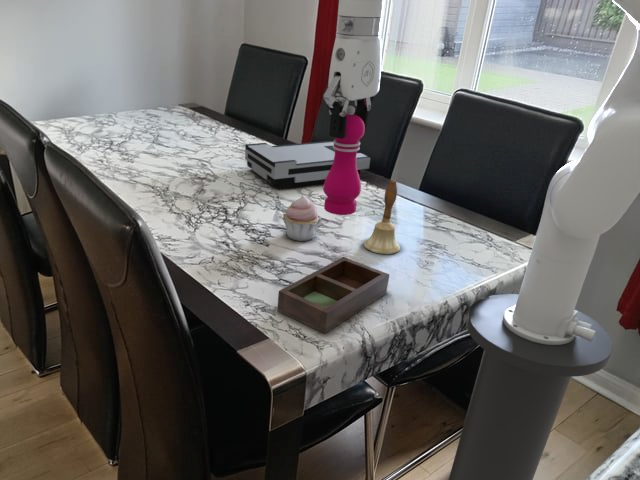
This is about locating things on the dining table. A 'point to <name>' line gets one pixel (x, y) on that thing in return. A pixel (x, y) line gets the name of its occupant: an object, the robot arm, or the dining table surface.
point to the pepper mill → (345, 169)
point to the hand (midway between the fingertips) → (347, 133)
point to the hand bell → (385, 227)
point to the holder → (332, 294)
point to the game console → (295, 163)
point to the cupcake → (301, 220)
